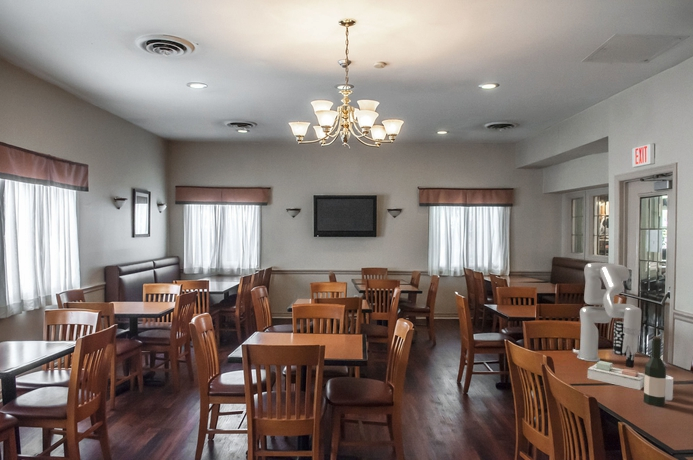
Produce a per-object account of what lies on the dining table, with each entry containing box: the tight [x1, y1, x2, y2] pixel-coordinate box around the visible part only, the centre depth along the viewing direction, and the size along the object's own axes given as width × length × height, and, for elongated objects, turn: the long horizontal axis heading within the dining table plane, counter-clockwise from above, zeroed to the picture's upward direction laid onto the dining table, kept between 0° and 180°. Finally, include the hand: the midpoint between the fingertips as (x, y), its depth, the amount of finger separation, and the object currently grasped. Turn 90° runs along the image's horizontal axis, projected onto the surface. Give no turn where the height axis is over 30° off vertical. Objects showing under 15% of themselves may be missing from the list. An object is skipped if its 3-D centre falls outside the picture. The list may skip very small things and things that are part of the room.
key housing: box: [586, 363, 645, 391], centre depth 249 cm, size 24×14×5 cm, turn 47°
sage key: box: [596, 360, 613, 371], centre depth 253 cm, size 6×6×3 cm
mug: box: [665, 374, 674, 401], centre depth 228 cm, size 12×9×10 cm
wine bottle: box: [643, 335, 667, 407], centre depth 218 cm, size 8×8×30 cm
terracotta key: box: [622, 368, 639, 377], centre depth 245 cm, size 6×6×3 cm
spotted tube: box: [612, 320, 626, 357], centre depth 306 cm, size 8×8×20 cm
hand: (629, 367), depth 246 cm, fingers closed
